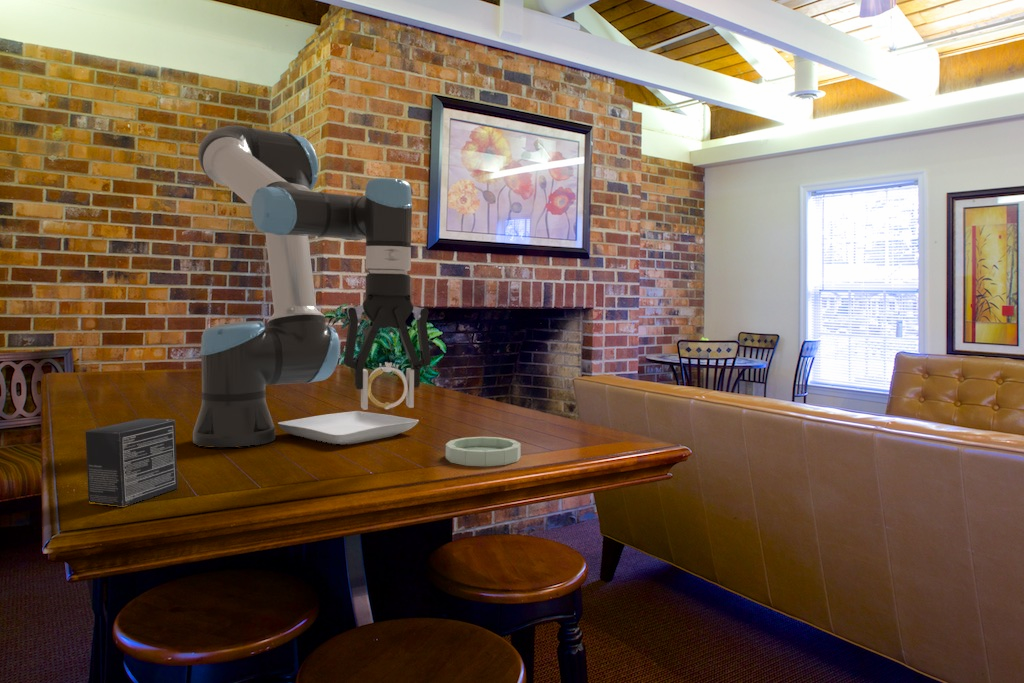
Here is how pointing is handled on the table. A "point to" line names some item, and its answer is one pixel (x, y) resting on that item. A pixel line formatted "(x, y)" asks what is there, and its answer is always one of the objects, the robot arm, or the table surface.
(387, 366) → the bracelet
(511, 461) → the ring dish
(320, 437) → the salad plate
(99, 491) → the small box
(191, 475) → the table surface
